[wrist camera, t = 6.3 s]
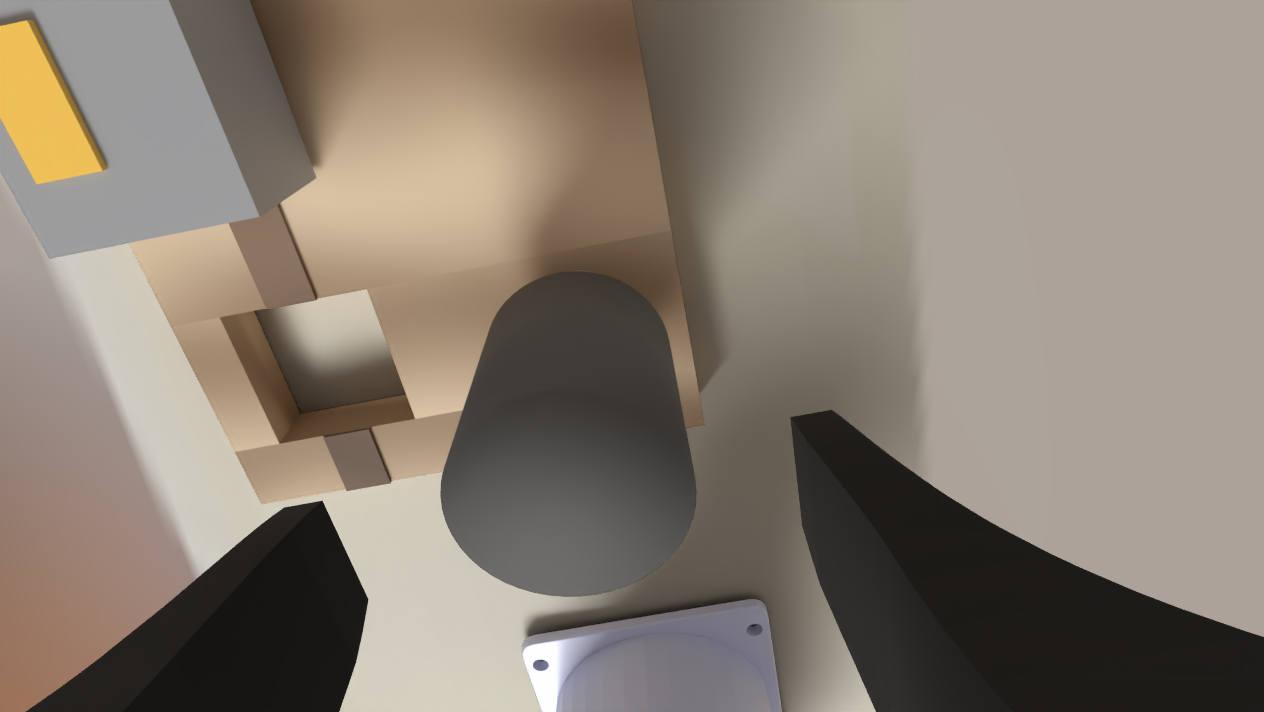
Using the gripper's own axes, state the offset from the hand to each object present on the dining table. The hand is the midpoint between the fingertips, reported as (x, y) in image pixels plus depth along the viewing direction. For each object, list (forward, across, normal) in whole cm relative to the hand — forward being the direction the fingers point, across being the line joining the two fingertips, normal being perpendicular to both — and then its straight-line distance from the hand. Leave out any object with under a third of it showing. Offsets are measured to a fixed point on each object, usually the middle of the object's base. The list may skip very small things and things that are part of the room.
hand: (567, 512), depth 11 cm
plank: (+9, +4, -4) cm, 10 cm away
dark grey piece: (+7, 0, 0) cm, 7 cm away
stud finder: (+7, +7, -7) cm, 12 cm away
